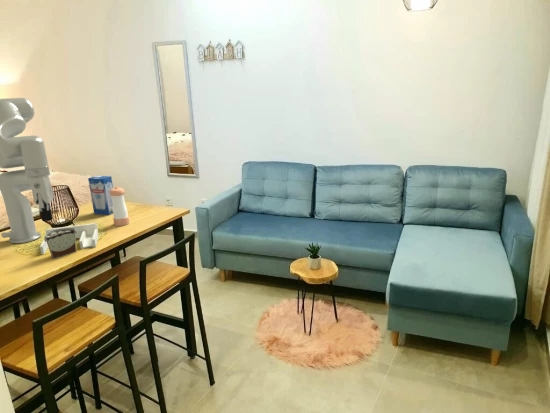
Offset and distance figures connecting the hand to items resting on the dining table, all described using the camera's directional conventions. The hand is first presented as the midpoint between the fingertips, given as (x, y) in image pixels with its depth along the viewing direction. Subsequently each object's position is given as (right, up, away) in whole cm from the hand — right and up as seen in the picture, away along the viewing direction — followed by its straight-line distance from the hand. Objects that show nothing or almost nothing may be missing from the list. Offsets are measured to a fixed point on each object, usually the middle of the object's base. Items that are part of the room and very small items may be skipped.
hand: (47, 220), depth 153 cm
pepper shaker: (+8, -4, +51) cm, 52 cm away
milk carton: (-8, +1, +71) cm, 71 cm away
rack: (-4, -12, +26) cm, 29 cm away
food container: (-3, -15, +16) cm, 22 cm away
